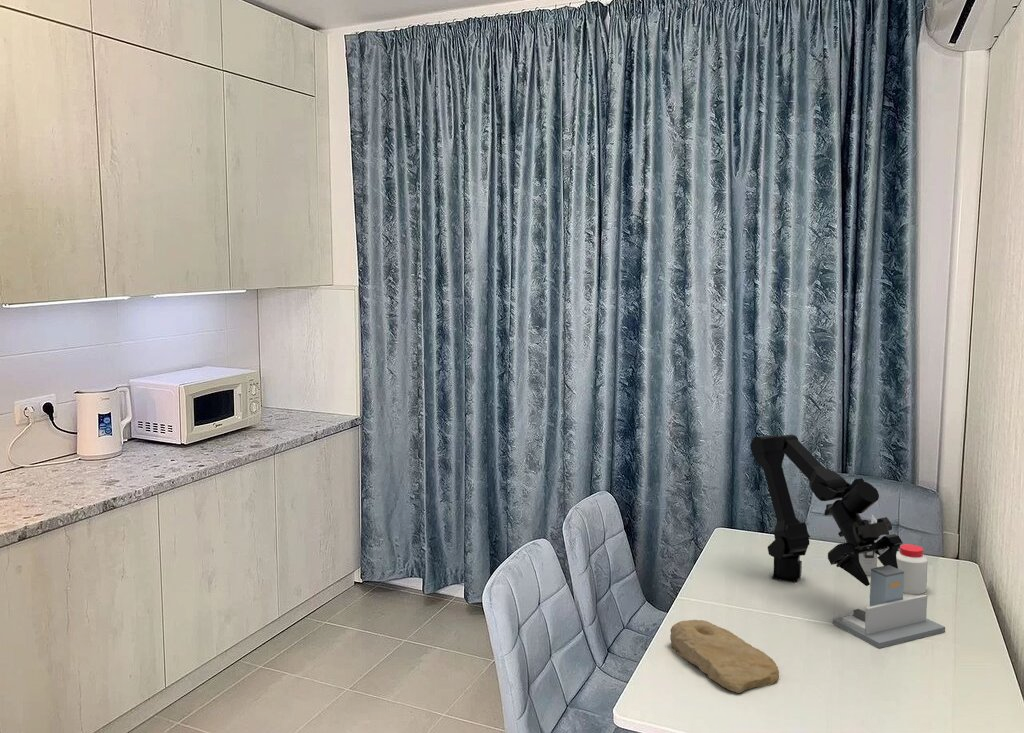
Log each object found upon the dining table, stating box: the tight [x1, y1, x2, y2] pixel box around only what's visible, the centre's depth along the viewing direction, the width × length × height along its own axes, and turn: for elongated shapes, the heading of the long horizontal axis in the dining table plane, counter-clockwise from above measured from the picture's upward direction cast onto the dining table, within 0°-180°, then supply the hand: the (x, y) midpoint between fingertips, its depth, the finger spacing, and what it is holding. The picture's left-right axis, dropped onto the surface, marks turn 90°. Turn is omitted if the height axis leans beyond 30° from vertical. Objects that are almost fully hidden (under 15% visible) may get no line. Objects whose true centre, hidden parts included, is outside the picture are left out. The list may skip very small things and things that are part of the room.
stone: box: [669, 619, 780, 694], centre depth 182 cm, size 15×26×6 cm, turn 23°
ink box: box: [859, 514, 879, 576], centre depth 233 cm, size 9×5×15 cm, turn 168°
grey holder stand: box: [832, 594, 946, 649], centre depth 197 cm, size 14×20×7 cm
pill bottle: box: [896, 543, 929, 595], centre depth 220 cm, size 8×8×11 cm
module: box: [869, 565, 904, 607], centre depth 197 cm, size 5×6×12 cm
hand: (883, 582), depth 198 cm, fingers open, 9 cm apart
